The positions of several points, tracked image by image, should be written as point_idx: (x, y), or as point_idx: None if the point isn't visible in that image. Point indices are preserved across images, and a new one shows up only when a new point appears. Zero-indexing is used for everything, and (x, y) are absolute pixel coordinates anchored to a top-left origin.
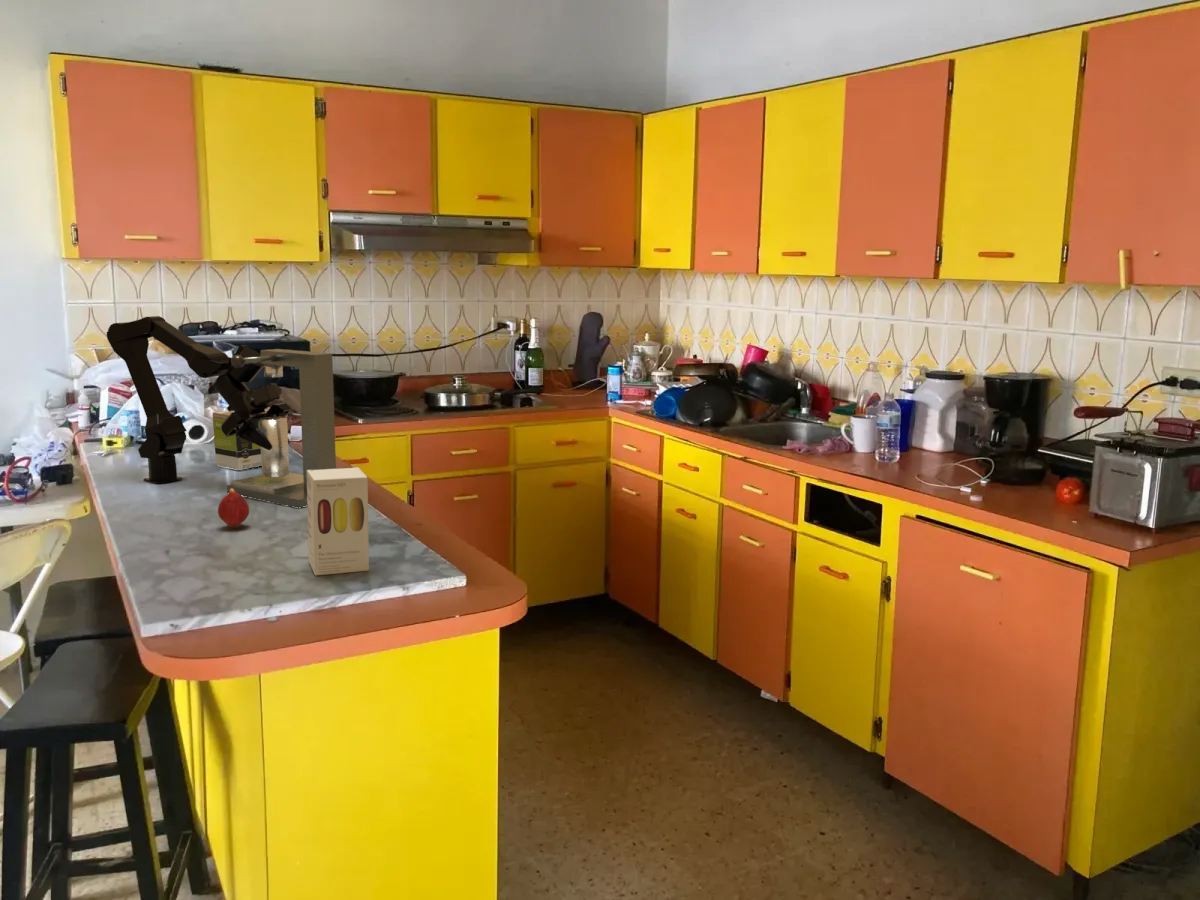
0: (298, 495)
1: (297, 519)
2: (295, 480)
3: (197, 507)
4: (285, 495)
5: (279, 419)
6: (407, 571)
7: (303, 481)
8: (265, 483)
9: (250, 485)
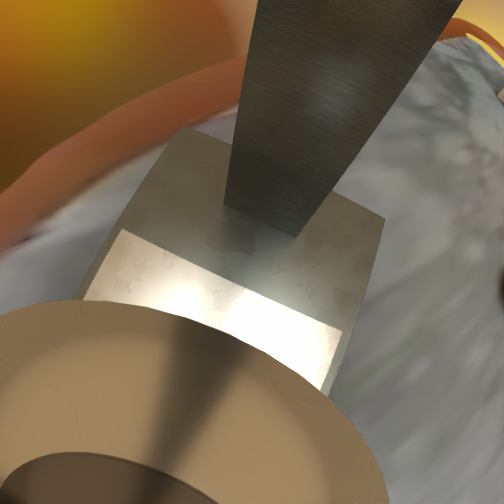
0: (339, 239)
1: (441, 199)
2: None
3: (412, 494)
4: (351, 280)
5: (208, 414)
6: (492, 66)
7: (188, 278)
8: None
9: None
